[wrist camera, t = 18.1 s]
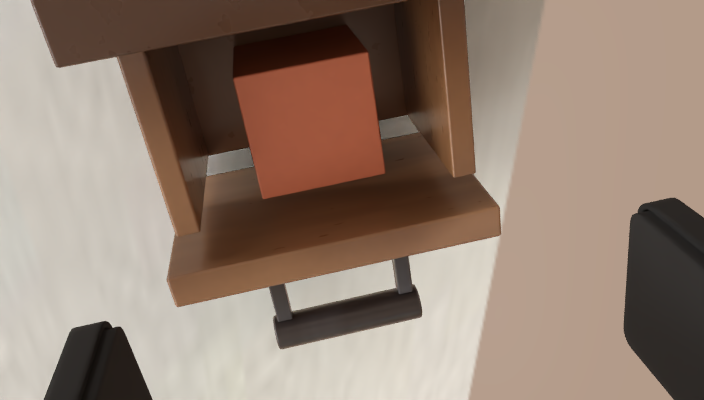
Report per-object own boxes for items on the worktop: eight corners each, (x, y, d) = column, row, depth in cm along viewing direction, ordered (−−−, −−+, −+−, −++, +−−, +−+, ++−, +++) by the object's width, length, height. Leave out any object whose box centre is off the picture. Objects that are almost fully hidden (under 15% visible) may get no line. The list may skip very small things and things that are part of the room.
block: (347, 24, 24) (368, 50, 20) (363, 131, 27) (386, 174, 23) (232, 46, 24) (232, 77, 20) (258, 152, 26) (262, 200, 22)
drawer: (447, 242, 31) (507, 344, 24) (218, 293, 30) (213, 413, 23) (405, -191, 23) (480, -224, 16) (84, -137, 22) (14, -147, 15)
